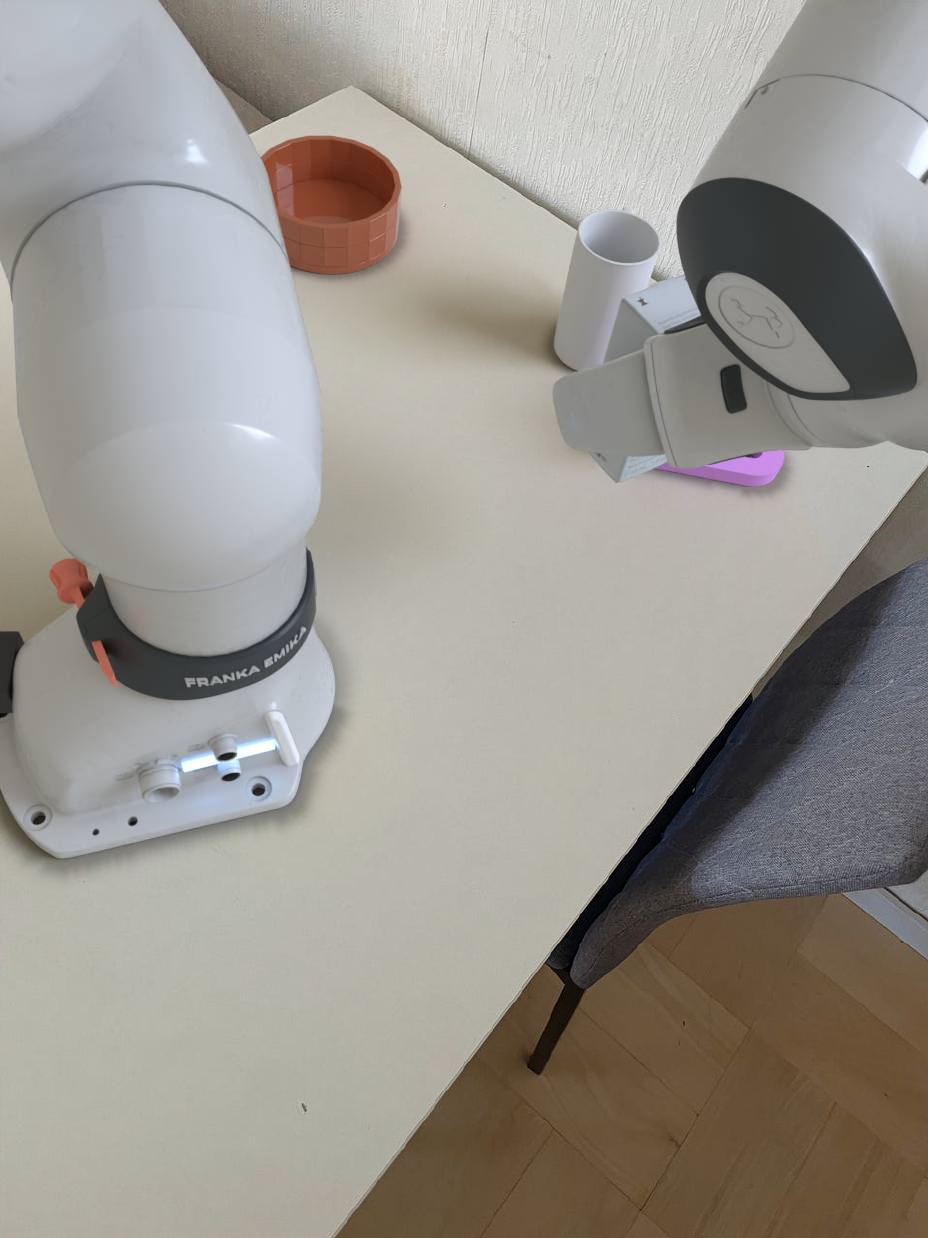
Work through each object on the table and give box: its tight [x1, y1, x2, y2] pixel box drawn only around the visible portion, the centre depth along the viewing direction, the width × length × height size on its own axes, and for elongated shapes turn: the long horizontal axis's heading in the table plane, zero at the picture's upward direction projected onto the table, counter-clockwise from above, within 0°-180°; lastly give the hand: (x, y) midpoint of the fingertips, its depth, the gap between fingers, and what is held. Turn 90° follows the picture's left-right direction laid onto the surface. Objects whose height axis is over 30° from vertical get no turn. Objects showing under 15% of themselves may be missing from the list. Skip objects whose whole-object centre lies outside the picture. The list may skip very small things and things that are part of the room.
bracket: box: [655, 450, 785, 488], centre depth 83 cm, size 13×6×7 cm, turn 81°
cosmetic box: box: [588, 273, 701, 484], centre depth 63 cm, size 6×4×12 cm
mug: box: [553, 206, 662, 372], centre depth 87 cm, size 10×7×12 cm, turn 164°
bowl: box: [260, 135, 403, 275], centre depth 94 cm, size 13×13×5 cm
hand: (651, 368), depth 63 cm, fingers closed on cosmetic box, 6 cm apart
